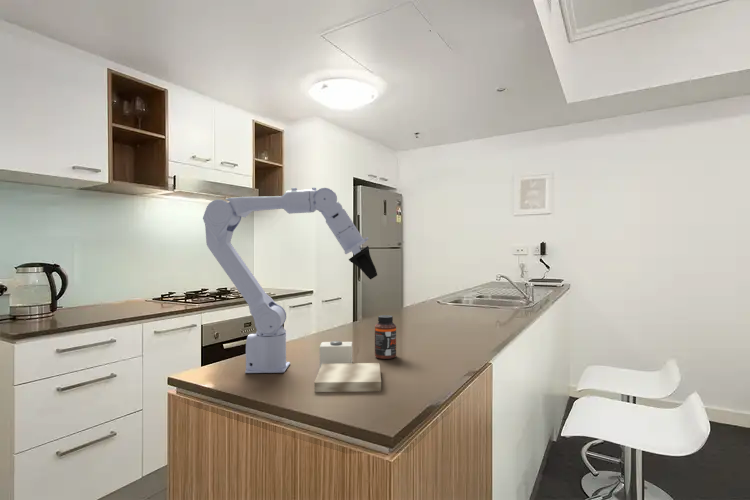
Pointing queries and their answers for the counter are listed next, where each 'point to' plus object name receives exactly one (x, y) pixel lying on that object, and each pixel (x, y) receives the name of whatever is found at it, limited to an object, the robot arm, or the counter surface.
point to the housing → (335, 352)
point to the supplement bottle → (385, 337)
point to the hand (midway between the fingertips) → (373, 275)
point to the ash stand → (348, 377)
